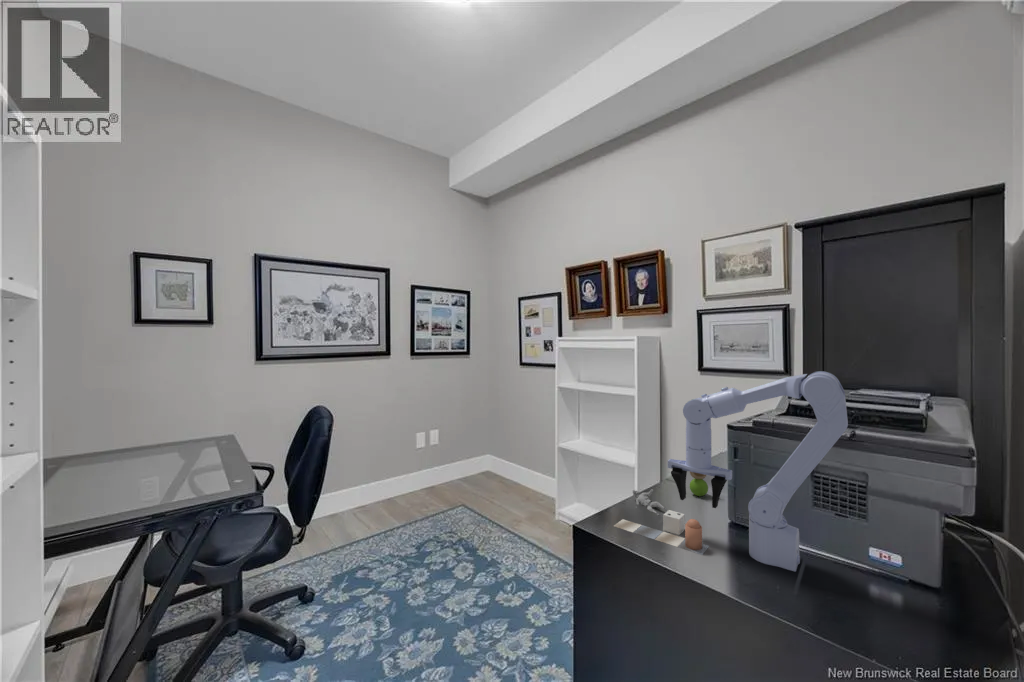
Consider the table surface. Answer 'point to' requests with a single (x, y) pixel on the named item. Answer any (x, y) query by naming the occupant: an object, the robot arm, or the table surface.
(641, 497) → the soldier figure
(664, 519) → the die
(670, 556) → the table surface
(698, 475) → the snail figurine
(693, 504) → the table surface
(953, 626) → the table surface
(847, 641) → the table surface
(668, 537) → the board
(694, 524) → the pawn
